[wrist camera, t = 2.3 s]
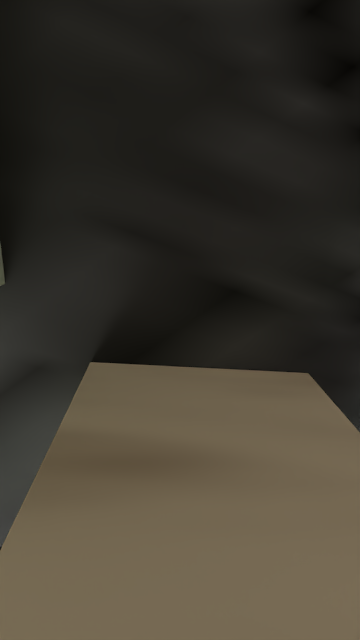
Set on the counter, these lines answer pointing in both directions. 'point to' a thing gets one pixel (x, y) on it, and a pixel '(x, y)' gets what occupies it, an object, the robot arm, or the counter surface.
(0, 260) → the sage block
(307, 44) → the counter surface
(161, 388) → the beech block
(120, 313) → the counter surface
